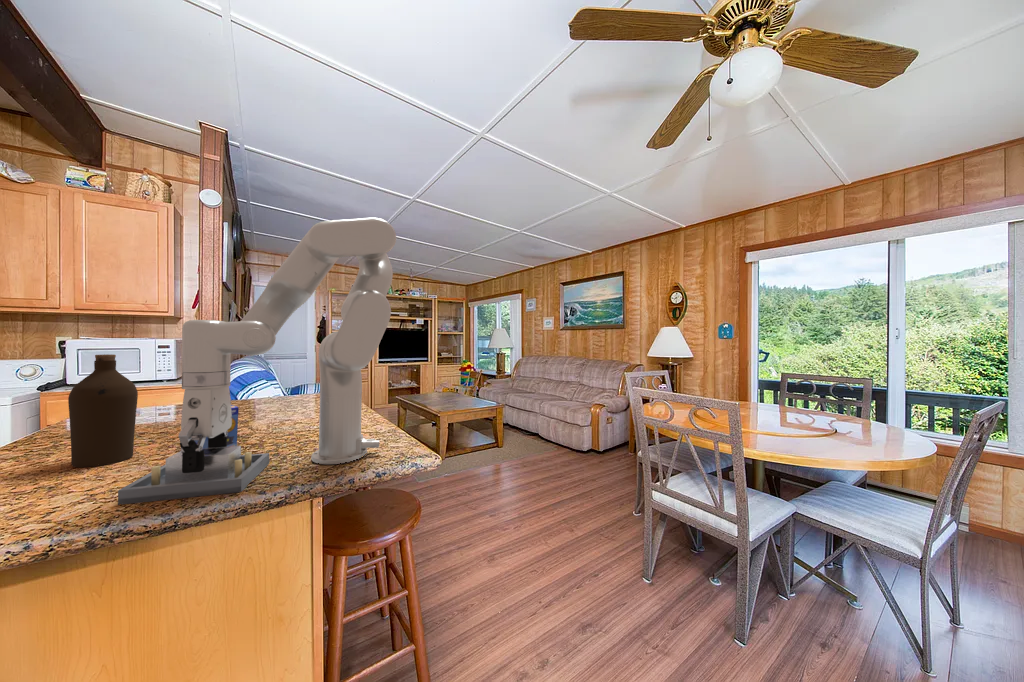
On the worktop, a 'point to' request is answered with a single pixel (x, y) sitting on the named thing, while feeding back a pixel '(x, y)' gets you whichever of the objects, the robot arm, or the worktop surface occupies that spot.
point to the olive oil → (102, 416)
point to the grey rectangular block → (215, 465)
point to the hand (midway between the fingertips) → (206, 463)
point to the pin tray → (192, 483)
